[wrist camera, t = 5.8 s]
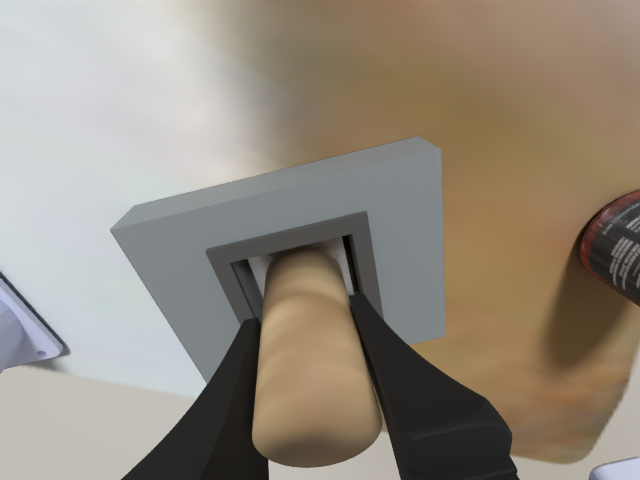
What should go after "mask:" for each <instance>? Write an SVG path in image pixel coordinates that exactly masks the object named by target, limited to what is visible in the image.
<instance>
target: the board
mask: <svg viewBox="0 0 640 480" xmlns="http://www.w3.org/2000/svg"><path fill="white" fill-rule="evenodd" d="M110 231H111V233H112V234H113V236H114V238H115V239H116V241H117V242H118V244H119V245H120V247H121V249H122V250H123V252H124V253H125V255H126V257H127V258H128V260H129V261H130V263H131V264H132V266H133V268H134V269H135V271H136V272H137V274H138V276H139V277H140V279H141V280H142V282H143V283H144V285H145V287H146V288H147V290H148V291H149V293H150V294H151V296H152V298H153V299H154V301H155V302H156V304H157V306H158V307H159V309H160V310H161V312H162V313H163V315H164V317H165V318H166V320H167V321H168V323H169V324H170V326H171V328H172V329H173V331H174V332H175V334H176V336H177V337H178V339H179V340H180V342H181V343H182V345H183V347H184V348H185V350H186V351H187V353H188V354H189V356H190V358H191V359H192V361H193V362H194V364H195V366H196V367H197V369H198V370H199V372H200V373H201V375H202V377H203V378H204V380H205V381H206V383H207V384H208V383H209V381H210V379H211V378H212V376H213V375H214V373H215V371H216V370H217V368H218V367H219V365H220V363H221V362H222V360H223V358H224V356H225V355H226V353H227V351H228V349H229V347H230V346H231V344H232V342H233V340H234V338H235V336H236V334H237V332H238V330H239V328H240V326H241V325H242V323H243V321H244V320H247V319H251V318H256V317H258V319H259V321H260V324H261V323H262V312H263V300H264V299H263V297H262V294H261V292H260V289H259V287H258V284H257V282H256V279H255V277H254V274H253V272H252V269H251V267H250V264H249V262H248V258H252V257H257V256H261V255H265V254H269V253H273V252H278V251H282V250H286V249H290V248H294V247H298V246H303V245H307V244H311V243H315V242H319V241H324V240H328V239H332V238H336V237H340V236H345V235H348V240H349V245H350V250H351V255H352V260H353V265H354V270H355V275H356V280H357V285H358V291H354V294H358V293H364V294H365V295H366V297H367V298H368V300H369V302H370V303H371V305H372V306H373V307H374V309H375V310H376V311H377V313H378V314H379V315H380V316H381V317H382V319H383V320H384V321H385V322H386V323H387V324H388V325H389V327H390V328H391V329H392V330H393V331H394V332H395V333H396V334H397V335H398V336H399V337H400V338H401V339H402V340H403V341H404V342H405V343H406V344H408V345H411V344H415V343H419V342H424V341H428V340H432V339H437V338H441V337H445V336H446V335H445V291H444V247H443V203H442V159H441V149H440V148H438V147H437V146H435V145H433V144H431V143H430V142H428V141H426V140H424V139H423V138H421V137H419V136H417V137H413V138H409V139H405V140H401V141H397V142H393V143H389V144H385V145H381V146H377V147H373V148H368V149H364V150H360V151H356V152H352V153H348V154H344V155H340V156H336V157H332V158H328V159H324V160H319V161H315V162H311V163H307V164H303V165H299V166H295V167H291V168H287V169H283V170H279V171H274V172H270V173H266V174H262V175H258V176H254V177H250V178H246V179H242V180H238V181H234V182H230V183H225V184H221V185H217V186H213V187H209V188H205V189H201V190H197V191H193V192H189V193H185V194H180V195H176V196H172V197H168V198H164V199H160V200H156V201H152V202H148V203H144V204H140V205H136V206H133V207H132V208H131V209H130V210H129V211H128V212H127V213H126V214H125V215H124V216H123V217H122V218H121V219H120V220H119V221H118V222H117V223H116V224H115V225H114V226H113V227H112V228H111V229H110Z"/></svg>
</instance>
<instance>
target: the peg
mask: <svg viewBox="0 0 640 480" xmlns="http://www.w3.org/2000/svg"><path fill="white" fill-rule="evenodd" d="M381 428H382V418H381V415H380V411H379V407H378V404H377V400H376V396H375V392H374V389H373V385H372V381H371V378H370V374H369V370H368V367H367V363H366V359H365V356H364V352H363V348H362V344H361V341H360V337H359V334H358V330H357V327H356V324H355V320H354V316H353V313H352V309H351V305H350V300H349V296H348V293H347V289H346V285H345V282H344V278H343V274H342V271H341V267H340V265H339V263H338V261H337V260H336V258H335V257H334V256H333V255H332V254H330V253H329V252H327V251H326V250H324V249H321V248H318V247H314V246H298V247H294V248H290V249H287V250H285V251H283V252H281V253H280V254H278V255H277V256H276V257H275V258H274V259H273V260H272V261H271V263H270V264H269V266H268V268H267V271H266V276H265V288H264V300H263V312H262V323H261V335H260V347H259V359H258V371H257V382H256V394H255V406H254V418H253V430H252V440H253V444H254V446H255V448H256V449H257V450H258V452H259V453H261V454H262V455H263V456H264V457H266V458H267V459H269V460H271V461H273V462H276V463H279V464H282V465H286V466H291V467H303V468H304V467H305V468H310V467H322V466H328V465H332V464H336V463H340V462H343V461H346V460H348V459H350V458H353V457H355V456H356V455H358V454H360V453H362V452H363V451H365V450H366V449H367V448H368V447H370V446H371V445H372V444H373V443H374V441H375V440H376V439H377V438H378V436H379V434H380V431H381Z"/></svg>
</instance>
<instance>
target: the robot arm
mask: <svg viewBox="0 0 640 480" xmlns="http://www.w3.org/2000/svg"><path fill="white" fill-rule="evenodd" d="M349 300H350V305H351V309H352V313H353V316H354V320H355V324H356V327H357V330H358V334H359V337H360V341H361V344H362V348H363V352H364V356H365V359H366V363H367V367H368V370H369V373H370V376H371V378H372V381H373V384H374V387H375V389H376V392H377V395H378V398H379V401H380V404H381V407H382V410H383V414H384V418H385V422H386V425H387V429H388V433H389V436H390V440H391V444H392V448H393V451H394V455H395V459H396V463H397V467H398V470H399V474H400V478H401V480H519V478H518V476H517V474H516V473H517V468H516V466H515V465H514V463H513V461H512V459H511V457H510V456H509V455H510V449H511V443H512V432H511V431H510V429H509V427H508V426H507V424H506V422H505V421H504V420H503V418H502V417H501V416H500V414H499V413H498V412H497V410H496V409H495V408H494V407H493V406H492V405H491V403H490V402H489V401H488V400H487V399H486V398H485V397H483V396H481V395H479V394H477V393H476V392H474V391H472V390H470V389H469V388H467V387H465V386H463V385H462V384H460V383H459V382H457V381H455V380H454V379H452V378H451V377H449V376H448V375H446V374H445V373H443V372H442V371H441V370H439V369H438V368H436V367H435V366H433V365H432V364H431V363H429V362H428V361H427V360H425V359H424V358H423V357H422V356H420V355H419V354H418V353H417V352H416V351H414V350H413V349H412V348H411V347H410V346H409V345H408V344H406V343H405V342H404V341H403V340H402V339H401V338H400V337H399V336H398V335H397V334H396V333H395V332H394V331H393V330H392V329H391V328H390V327H389V325H388V324H387V323H386V322H385V321H384V320H383V319H382V317H381V316H380V315H379V314H378V313H377V311H376V310H375V309H374V307H373V306H372V305H371V303H370V302H369V300H368V298H367V297H366V295H365V294H364V293H358V294H354V295H350V296H349ZM260 335H261V324H260V321H259V319H258V317H256V318H251V319H247V320H244V321H243V323H242V325H241V326H240V328H239V330H238V332H237V334H236V336H235V338H234V340H233V342H232V344H231V346H230V347H229V349H228V351H227V353H226V355H225V356H224V358H223V360H222V362H221V363H220V365H219V367H218V368H217V370H216V371H215V373H214V375H213V376H212V378H211V379H210V381H209V383H208V384H207V385H206V387H205V388H204V390H203V391H202V393H201V394H200V395H199V397H198V398H197V400H196V401H195V402H194V404H193V405H192V406H191V407H190V409H189V410H188V411H187V412H186V414H185V415H184V416H183V417H182V418H181V420H180V421H179V422H178V423H177V424H176V426H175V427H174V428H173V429H172V430H171V431H170V432H169V433H168V434H167V435H166V437H164V439H163V440H162V441H161V442H160V443H159V444H158V445H157V446H156V447H155V448H154V449H153V450H152V451H151V452H150V453H149V454H148V455H147V456H146V457H145V458H144V459H143V460H142V461H140V462H139V463H138V464H137V465H136V466H135V467H134V468H133V469H132V470H131V471H130V472H129V473H128V474H127V475H125V476H124V477H123V478H122V479H121V480H269V469H268V459H267V458H266V457H264V456H263V455H262V454H261V453H259V452H258V450H257V449H256V448H255V446H254V444H253V440H252V430H253V418H254V406H255V394H256V382H257V371H258V359H259V347H260ZM62 351H63V346H62V345H61V344H60V342H59V341H58V340H57V339H56V338H55V337H54V336H53V335H52V334H51V333H50V332H49V330H48V329H47V328H46V327H45V326H44V325H43V324H42V323H41V322H40V321H39V319H38V318H37V317H36V316H35V315H34V314H33V313H32V312H31V311H30V310H29V309H28V307H27V306H26V305H25V304H24V303H23V302H22V301H21V300H20V299H19V298H18V296H17V295H16V294H15V293H14V292H13V291H12V290H11V289H10V288H9V287H8V286H7V284H6V283H5V282H4V281H3V280H2V279H1V278H0V373H1V372H2V371H3V370H4V369H7V368H11V367H15V366H19V365H24V364H28V363H32V362H36V361H41V360H45V359H49V358H53V357H57V356H59V355H60V353H61V352H62ZM589 480H640V457H633V458H628V459H623V460H619V461H614V462H609V463H605V464H602V465H599V466H597V467H595V468H593V470H592V471H591V472H590V475H589Z"/></svg>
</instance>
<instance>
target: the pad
mask: <svg viewBox="0 0 640 480" xmlns="http://www.w3.org/2000/svg"><path fill="white" fill-rule="evenodd" d="M303 246H314V247H318V248H321V249H324V250H326V251H327V252H329V253H330V254H332V255H333V256H334V257H335V258H336V260H337V261H338V263H339V265H340V267H341V271H342V274H343V278H344V282H345V285H346V289H347V293H348V296H350V295H354V292H353V287H352V282H351V278H350V273H349V268H348V263H347V259H346V254H345V249H344V244H343V240H342V236H340V237H336V238H332V239H328V240H324V241H319V242H315V243H311V244H307V245H303ZM286 250H287V249H286ZM283 251H285V250H282V251H278V252H273V253H269V254H265V255H261V256H257V257H252V258H248V262H249V264H250V267H251V269H252V272H253V274H254V277H255V279H256V282H257V284H258V287H259V289H260V292H261V294H262V297H263V299H264V288H265V276H266V271H267V268H268V266H269V264H270V263H271V261H272V260H273V259H274V258H275V257H276V256H277V255H278V254H280V253H281V252H283Z"/></svg>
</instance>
